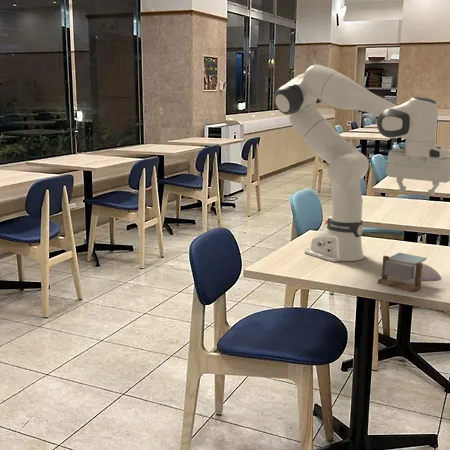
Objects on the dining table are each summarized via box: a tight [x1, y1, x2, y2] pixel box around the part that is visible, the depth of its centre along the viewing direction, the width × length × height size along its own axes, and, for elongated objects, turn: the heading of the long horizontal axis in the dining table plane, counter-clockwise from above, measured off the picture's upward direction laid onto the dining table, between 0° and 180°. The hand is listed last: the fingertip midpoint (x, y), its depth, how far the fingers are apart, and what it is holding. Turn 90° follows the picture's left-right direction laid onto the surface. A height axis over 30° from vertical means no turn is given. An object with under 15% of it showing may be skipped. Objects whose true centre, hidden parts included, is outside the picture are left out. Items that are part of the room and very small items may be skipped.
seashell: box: [413, 263, 442, 282], centre depth 194 cm, size 10×6×10 cm
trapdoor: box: [384, 252, 427, 281], centre depth 186 cm, size 9×11×5 cm
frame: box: [377, 255, 424, 293], centre depth 184 cm, size 13×4×8 cm, turn 49°
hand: (416, 193), depth 183 cm, fingers open, 8 cm apart
